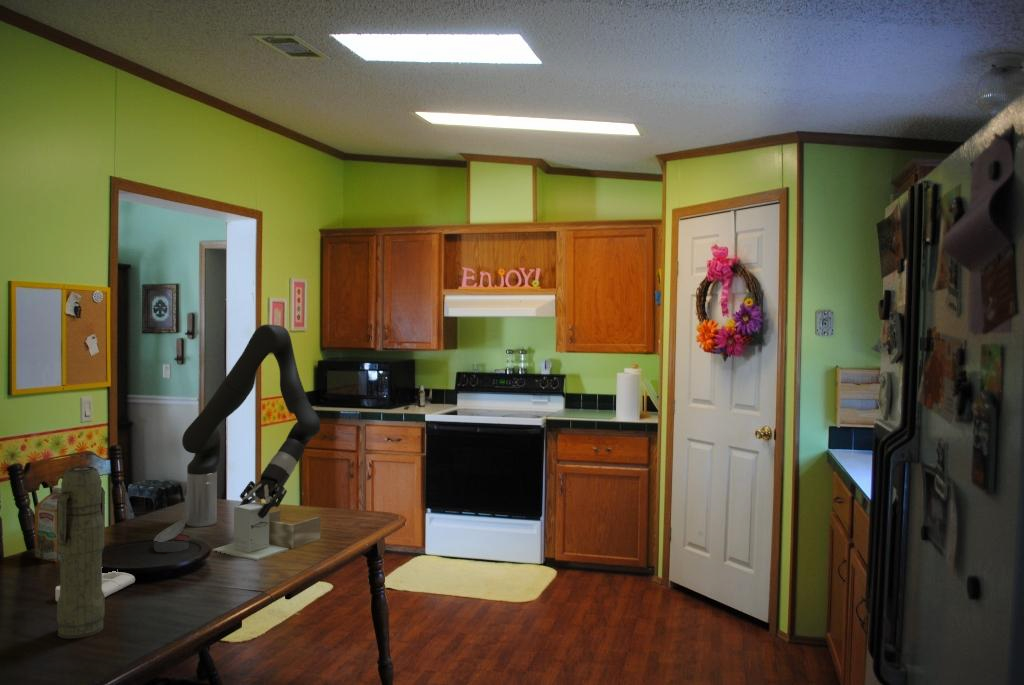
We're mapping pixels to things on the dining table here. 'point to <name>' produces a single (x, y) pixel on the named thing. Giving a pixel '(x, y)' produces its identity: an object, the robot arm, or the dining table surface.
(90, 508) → the thermos
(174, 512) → the dining table surface
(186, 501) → the robot arm
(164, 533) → the canned food
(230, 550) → the mat
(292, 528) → the box
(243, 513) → the supplement box
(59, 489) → the milk carton
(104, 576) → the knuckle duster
